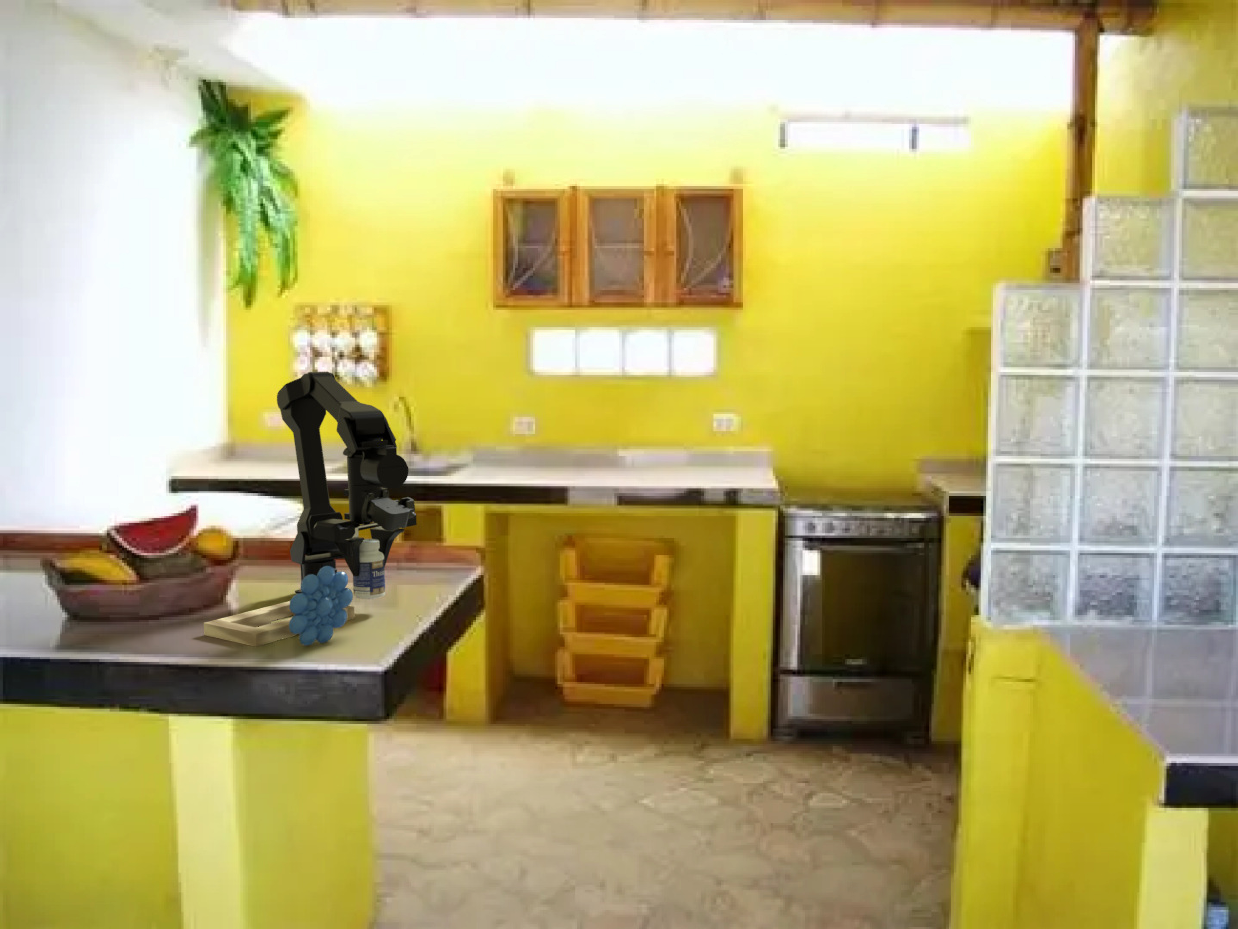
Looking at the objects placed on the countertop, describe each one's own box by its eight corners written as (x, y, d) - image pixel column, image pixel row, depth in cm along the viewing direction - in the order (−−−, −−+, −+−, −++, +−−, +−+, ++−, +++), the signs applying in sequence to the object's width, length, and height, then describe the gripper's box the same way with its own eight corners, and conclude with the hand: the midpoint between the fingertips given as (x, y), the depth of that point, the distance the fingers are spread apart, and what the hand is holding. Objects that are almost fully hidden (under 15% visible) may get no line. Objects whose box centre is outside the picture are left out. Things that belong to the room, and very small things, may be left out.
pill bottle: (377, 600, 180) (375, 543, 179) (348, 599, 182) (346, 543, 180) (390, 593, 186) (388, 538, 185) (362, 592, 187) (359, 537, 186)
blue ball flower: (336, 630, 173) (333, 558, 171) (363, 637, 169) (360, 562, 167) (274, 647, 164) (270, 570, 162) (300, 654, 159) (297, 576, 158)
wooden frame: (303, 608, 188) (303, 597, 187) (354, 618, 180) (354, 606, 180) (204, 635, 171) (203, 622, 171) (256, 646, 164) (255, 634, 164)
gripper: (356, 493, 169) (360, 589, 171) (438, 480, 185) (440, 568, 186) (309, 488, 175) (313, 581, 177) (392, 476, 191) (395, 561, 193)
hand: (368, 573), depth 183 cm, fingers closed on pill bottle, 5 cm apart
